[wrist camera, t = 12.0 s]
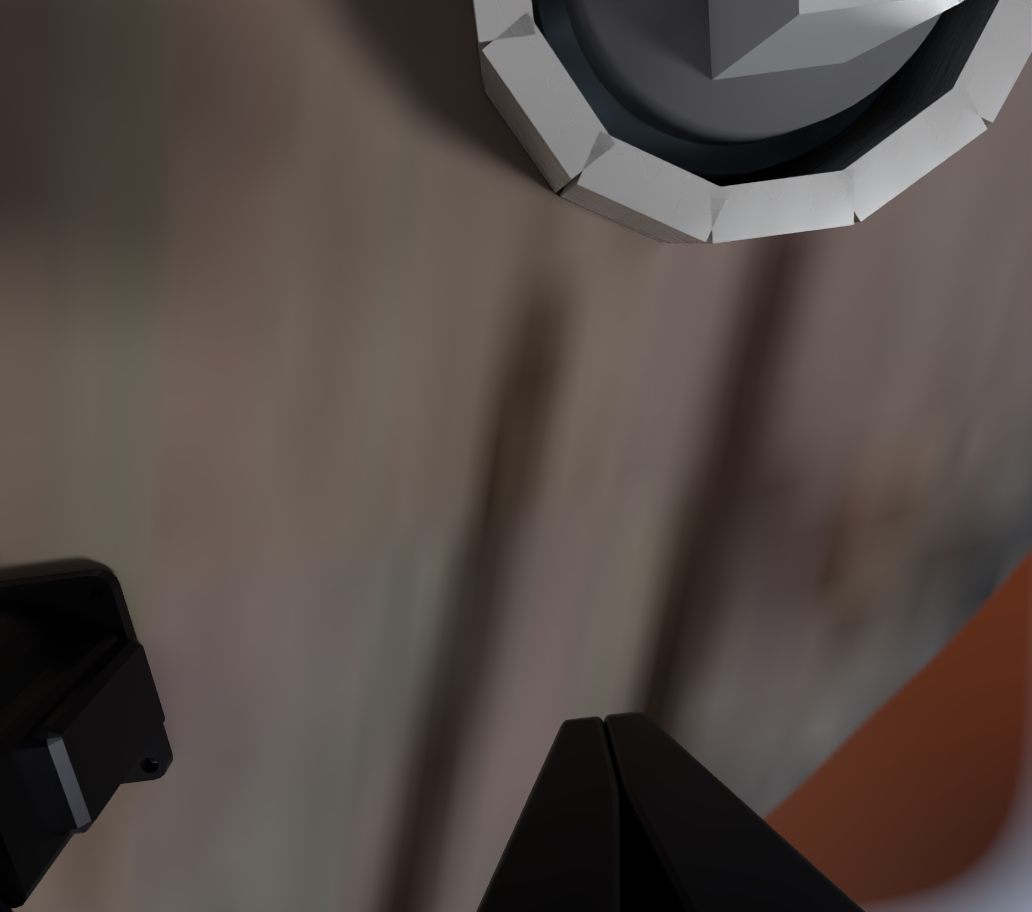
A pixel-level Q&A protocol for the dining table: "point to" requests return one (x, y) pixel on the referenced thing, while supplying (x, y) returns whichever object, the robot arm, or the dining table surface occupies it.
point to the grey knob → (746, 59)
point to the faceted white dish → (752, 206)
